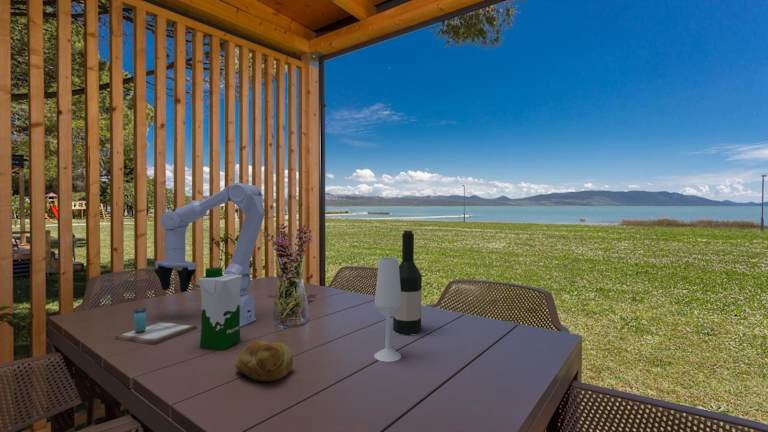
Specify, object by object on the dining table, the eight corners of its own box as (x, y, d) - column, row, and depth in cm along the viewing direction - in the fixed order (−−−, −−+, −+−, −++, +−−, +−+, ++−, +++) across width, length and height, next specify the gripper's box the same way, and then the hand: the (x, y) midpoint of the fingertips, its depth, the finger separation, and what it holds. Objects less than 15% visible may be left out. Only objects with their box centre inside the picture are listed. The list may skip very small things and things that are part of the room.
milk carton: (216, 337, 100) (217, 265, 100) (245, 340, 98) (246, 267, 98) (194, 349, 91) (194, 270, 91) (225, 352, 90) (226, 272, 89)
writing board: (196, 328, 107) (196, 325, 107) (154, 344, 94) (154, 341, 94) (161, 323, 111) (161, 320, 111) (115, 338, 98) (115, 335, 98)
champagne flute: (405, 354, 89) (407, 258, 89) (392, 363, 84) (394, 261, 83) (382, 348, 93) (383, 256, 93) (368, 357, 87) (369, 259, 87)
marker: (148, 331, 102) (148, 308, 102) (139, 334, 99) (139, 310, 99) (140, 330, 102) (141, 307, 102) (131, 333, 100) (131, 310, 100)
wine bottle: (420, 327, 111) (422, 230, 111) (421, 336, 103) (422, 231, 102) (394, 325, 112) (395, 229, 112) (392, 334, 104) (393, 231, 103)
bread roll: (224, 376, 76) (224, 339, 76) (259, 360, 85) (259, 326, 85) (270, 390, 71) (270, 350, 71) (302, 371, 79) (302, 335, 79)
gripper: (146, 248, 114) (146, 291, 114) (182, 250, 110) (182, 294, 110) (166, 246, 121) (166, 287, 121) (200, 248, 117) (200, 290, 117)
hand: (175, 290), depth 116 cm, fingers open, 7 cm apart
